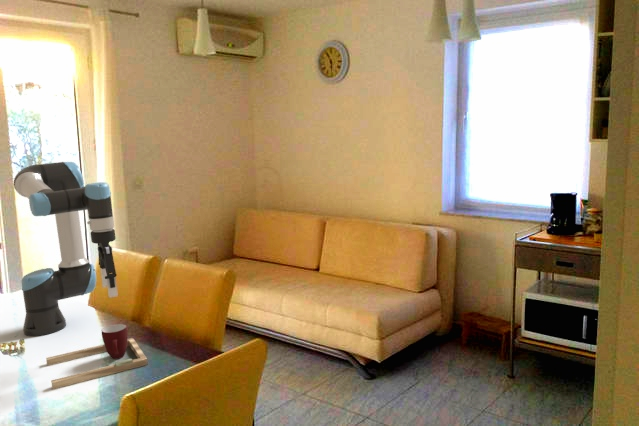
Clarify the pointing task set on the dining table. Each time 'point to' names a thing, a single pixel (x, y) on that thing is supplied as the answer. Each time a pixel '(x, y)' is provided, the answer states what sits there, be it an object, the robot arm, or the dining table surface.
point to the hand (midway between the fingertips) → (110, 291)
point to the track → (97, 372)
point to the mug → (115, 340)
